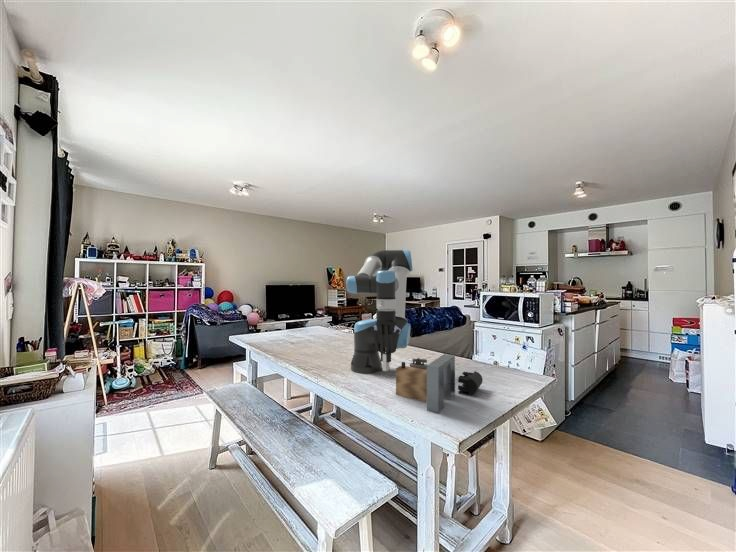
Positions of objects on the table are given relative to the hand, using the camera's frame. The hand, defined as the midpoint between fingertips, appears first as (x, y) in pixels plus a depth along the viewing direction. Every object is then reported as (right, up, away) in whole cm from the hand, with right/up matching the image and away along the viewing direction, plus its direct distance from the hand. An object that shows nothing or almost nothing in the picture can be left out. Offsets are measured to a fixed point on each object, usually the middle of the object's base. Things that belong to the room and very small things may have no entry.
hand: (385, 370), depth 122 cm
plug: (+10, -8, -6) cm, 14 cm away
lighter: (+15, -8, +9) cm, 19 cm away
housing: (+19, -8, -12) cm, 24 cm away
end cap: (+33, -8, -1) cm, 34 cm away
